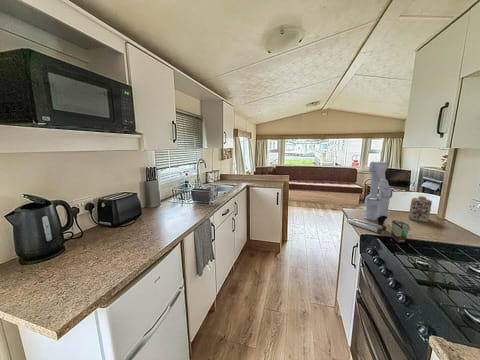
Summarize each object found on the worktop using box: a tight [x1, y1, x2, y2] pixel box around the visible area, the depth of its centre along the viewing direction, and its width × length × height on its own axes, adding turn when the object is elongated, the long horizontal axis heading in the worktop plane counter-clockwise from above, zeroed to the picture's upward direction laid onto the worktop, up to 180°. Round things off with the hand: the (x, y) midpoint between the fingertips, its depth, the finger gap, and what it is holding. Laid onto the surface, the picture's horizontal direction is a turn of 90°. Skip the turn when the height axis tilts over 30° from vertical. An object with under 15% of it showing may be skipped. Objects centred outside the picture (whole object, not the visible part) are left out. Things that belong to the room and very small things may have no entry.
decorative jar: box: [408, 195, 433, 223], centre depth 159 cm, size 12×12×18 cm
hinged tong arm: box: [349, 217, 387, 231], centre depth 143 cm, size 22×2×3 cm, turn 51°
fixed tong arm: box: [346, 218, 383, 235], centre depth 139 cm, size 2×22×3 cm, turn 32°
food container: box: [390, 219, 411, 244], centre depth 122 cm, size 12×6×10 cm, turn 168°
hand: (380, 225), depth 139 cm, fingers closed
